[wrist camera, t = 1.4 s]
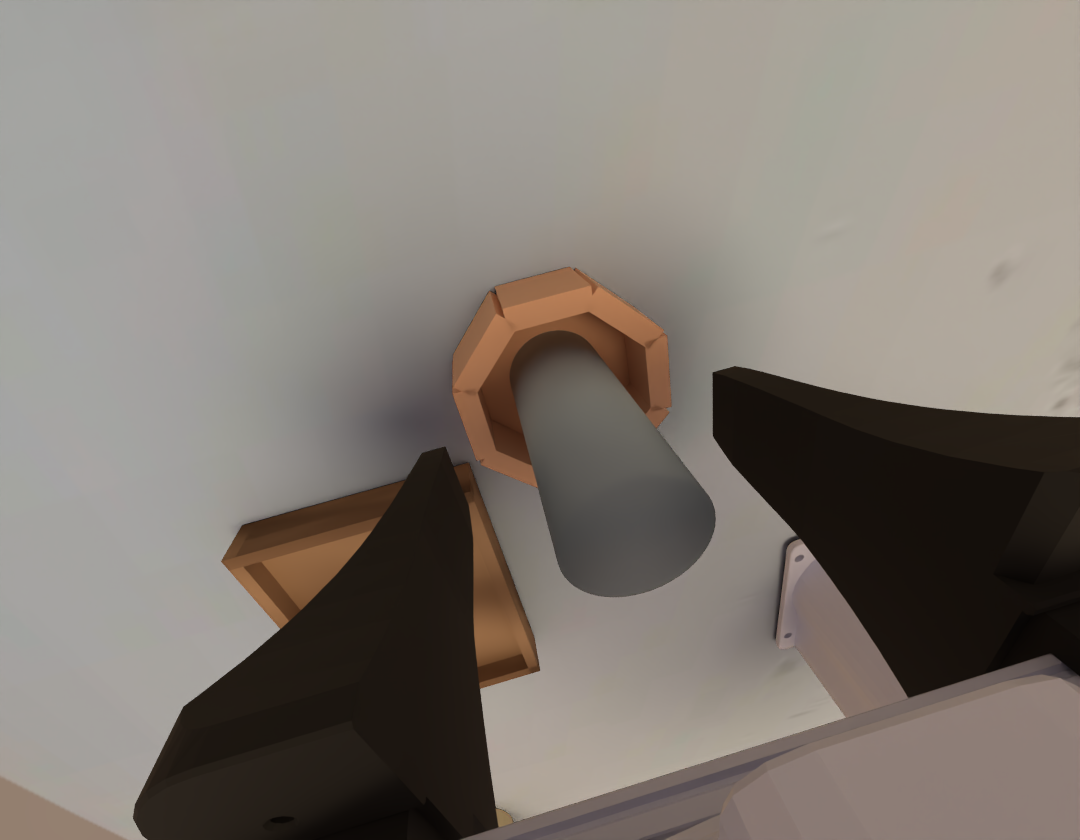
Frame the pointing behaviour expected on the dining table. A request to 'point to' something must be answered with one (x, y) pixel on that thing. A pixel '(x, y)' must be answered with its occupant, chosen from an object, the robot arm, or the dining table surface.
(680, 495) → the dowel
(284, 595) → the tray
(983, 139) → the dining table surface
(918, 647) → the robot arm
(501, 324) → the orange octagonal bowl
